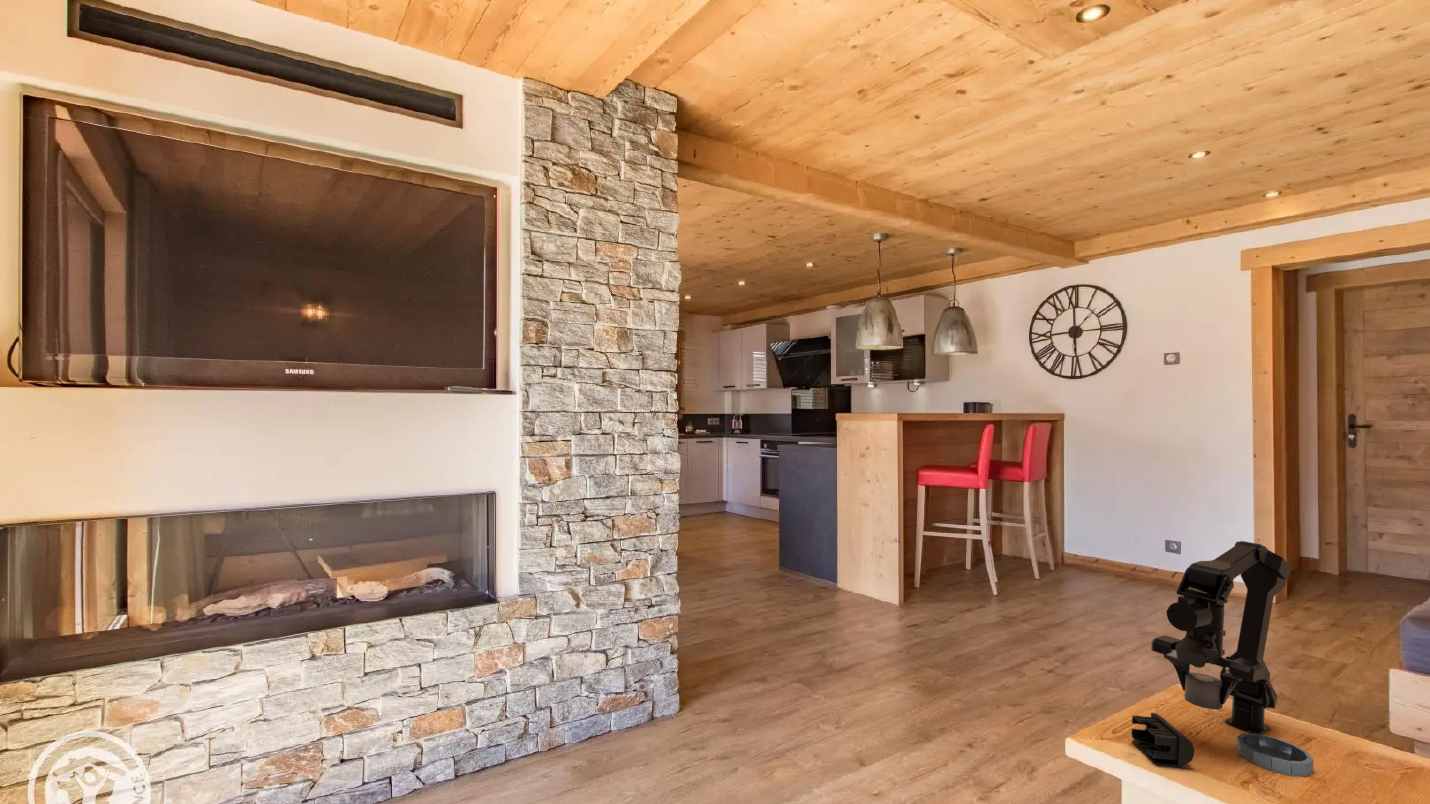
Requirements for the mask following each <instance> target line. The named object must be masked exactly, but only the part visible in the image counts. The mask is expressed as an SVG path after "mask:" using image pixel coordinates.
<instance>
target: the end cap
mask: <svg viewBox="0 0 1430 804" xmlns="http://www.w3.org/2000/svg"><path fill="white" fill-rule="evenodd" d="M1131 723H1132V724H1133V725H1144V726H1145V728H1144V729H1140V728H1139V729H1138V728H1131V735H1130V736H1131V738H1132V739H1133V740H1132V741H1131V743H1132V745H1133V746H1134V747H1135V749H1137V750H1138V751H1139V752H1140V751H1141V752H1140V753H1141V754H1142V753H1143V754H1144V755H1145V756H1146V757H1147V758H1146V757H1145V756H1144V755H1143V754H1142V755H1143V756H1144V757H1145V758H1146V759H1147V760H1148V761H1150V762H1151V761H1152V762H1151V764H1152V765H1154V764H1155V765H1156V767H1159V768H1160V767H1161V768H1162V767H1163V768H1173V769H1180V768H1181V767H1184V766H1186V765H1188V764H1190V763H1191V762H1192V760H1193V759H1194V757H1195V747H1194V744H1193V743H1192V741H1191V740H1190V739H1189V738H1188V737H1186V736H1185V735H1184V734H1183V733H1182V732H1180V731H1179V730H1178V729H1177V728H1175V727H1174V725H1172V724H1171V723H1170V722H1168V721H1167V720H1166V719H1165V718H1164V717H1162V716H1161V715H1160V714H1158V713H1155V712H1151V713H1150V716H1144V715H1132V717H1131ZM1155 765H1154V766H1155Z"/></svg>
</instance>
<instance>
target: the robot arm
mask: <svg viewBox="0 0 1430 804" xmlns="http://www.w3.org/2000/svg"><path fill="white" fill-rule="evenodd" d="M1291 571H1292V570H1291V565H1290V564H1289V563H1288V562H1287V561H1286V560H1285V558H1284V557H1282V556H1281V555H1278V554H1277V553H1275V552H1273V551H1271V550H1269V549H1268V548H1267V547H1266V546H1265V545H1262V544H1261V543H1257V542H1249V541H1246V540H1245V541H1244V540H1240V541H1236V542H1235V543H1234V546H1232V547H1231V548H1229V549H1228V550H1227V551H1225V552H1223V553H1222V554H1221V555H1219V556H1217V557H1215V558H1214V559H1212V560H1199V561H1196V562H1193V563H1191V564H1190V565H1189V566H1188V567H1187V568H1186V570H1185V571H1184V574H1183V576H1182V578H1181V581H1180V583H1179V585H1178V587H1177V589H1176V594H1177V596H1178V595H1179V596H1178V597H1177V601H1176V602H1174V603H1171V604H1170V605H1169V606H1168V608H1167V610H1166V617H1167V620H1168V622H1169V624H1171V626H1173V627H1174V628H1175V629H1177V630H1179V631H1182V632H1186V634H1185V635H1184V637H1183V638H1181V639H1179V638H1176V637H1172V636H1169V635H1161V636H1157V637H1155V638H1153V639H1152V641H1151V648H1150V649H1151V651H1153V652H1155V653H1158V654H1161V655H1163V657H1164V659H1166V660H1168V661H1169V662H1170V664H1172V665H1173V667H1174V669H1175V671H1176V674H1177V677H1178V680H1179V682H1180V686H1181V688H1182V691H1183V692H1185V674H1186V673H1190V665H1191V666H1193V667H1195V668H1199V669H1200V668H1204V667H1205V665H1206V664H1210V665H1215V666H1217V667H1222V668H1221V670H1220V673H1219V674H1220V675H1219V678H1220V679H1219V680H1221V681H1222V685H1221V693H1220V704H1222V706H1223V705H1226V702H1227V700H1228V699H1229V697H1230V696H1231V697H1232V701H1231V702H1232V704H1231V706H1232V707H1231V716H1230V717H1228V718H1226V719H1225V720H1224V722H1225V723H1226V724H1228V725H1231V726H1234V727H1237V728H1239V729H1242V730H1245V731H1247V732H1250V733H1257V734H1262V735H1263V733H1265V732H1267V731H1269V730H1271V726H1270V725H1268V724H1265V712H1266V711H1265V709H1269V708H1270V709H1276V704H1277V702H1278V700H1277V699H1278V694H1277V693H1276V690H1275V689H1274V687H1273V685H1272V684H1271V681H1270V679H1271V672H1270V671H1269V668H1268V666H1267V665H1266V662H1265V661H1264V655H1265V649H1266V644H1267V638H1268V634H1269V633H1268V632H1269V628H1270V627H1269V625H1270V622H1271V621H1270V620H1271V613H1272V609H1273V604H1274V603H1273V602H1274V598H1275V596H1276V595H1278V593H1280V591H1282V590H1284V589H1285V587H1286V584H1287V580H1288V579H1289V578H1290V576H1291ZM1239 576H1240V578H1241V580H1242V581H1243V583H1244V585H1245V587H1246V589H1247V590H1246V596H1245V602H1244V607H1243V612H1242V618H1241V623H1240V624H1241V625H1240V630H1239V635H1238V640H1237V646H1236V651H1235V652H1234V653H1233V654H1231V655H1230V656H1229V655H1227V656H1226V657H1223V656H1225V654H1226V650H1225V649H1223V648H1224V647H1223V644H1224V643H1223V642H1224V637H1226V635H1227V633H1226V630H1225V629H1224V625H1225V624H1224V623H1225V604H1228V597H1229V596H1230V594H1231V592H1232V590H1233V589H1234V587H1235V583H1234V580H1235V579H1236V578H1237V577H1239Z"/></svg>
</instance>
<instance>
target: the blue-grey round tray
mask: <svg viewBox="0 0 1430 804" xmlns="http://www.w3.org/2000/svg"><path fill="white" fill-rule="evenodd" d="M1236 750H1237V752H1238V754H1239V756H1241V757H1243V758H1244V759H1245V760H1247V761H1248V762H1250V763H1251V764H1254V765H1256V766H1258V767H1261V768H1263V769H1265V770H1267V771H1270V772H1273V773H1279V774H1283V775H1288V776H1292V777H1307V776H1310V775H1311V774H1312V773H1313V772H1314V758H1313V757H1312V755H1311V754H1310V753H1309V752H1308V751H1307V750H1305V749H1303V748H1301V747H1300V746H1299V745H1296V744H1295V743H1291V742H1289V741H1285V740H1284V739H1282V738H1279V737H1275V736H1271V735H1266V734H1263V733H1262V734H1257V733H1252V732H1250V733H1249V732H1242V733H1241V734H1239V735H1236Z"/></svg>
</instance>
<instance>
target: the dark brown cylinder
mask: <svg viewBox="0 0 1430 804" xmlns="http://www.w3.org/2000/svg"><path fill="white" fill-rule="evenodd" d="M1221 685H1222V681H1221V680H1220V679H1219V678H1218V677H1215V676H1212V675H1208V674H1204V673H1199V672H1189V673H1186V674H1185V691H1184V700H1185V701H1186V702H1188V703H1190V704H1192V705H1194V706H1197V707H1200V708H1204V709H1208V710H1222V709H1223V705H1222V704H1220V693H1221Z"/></svg>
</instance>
